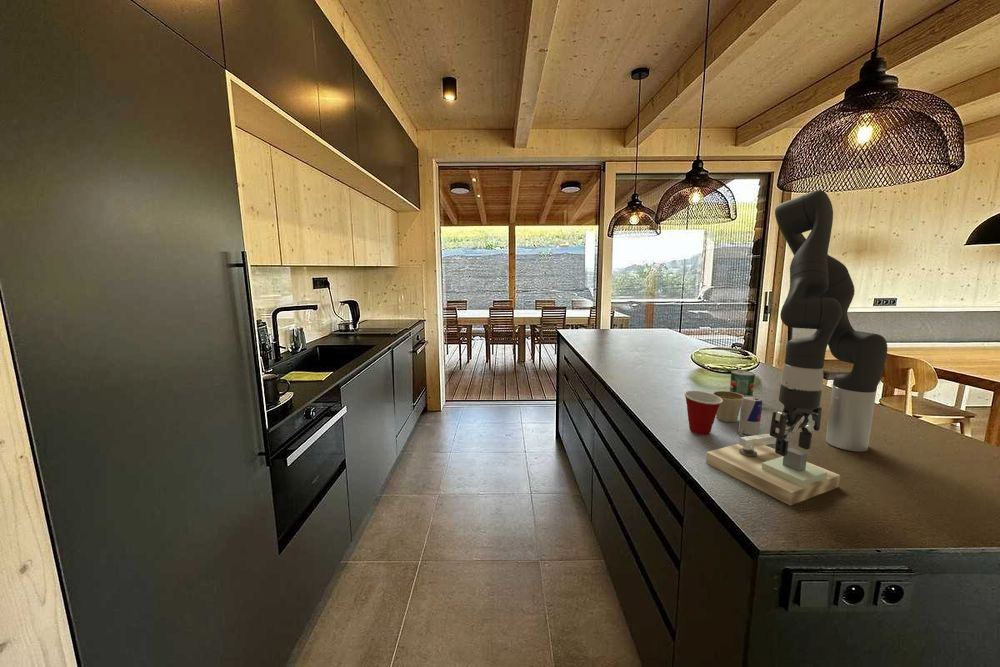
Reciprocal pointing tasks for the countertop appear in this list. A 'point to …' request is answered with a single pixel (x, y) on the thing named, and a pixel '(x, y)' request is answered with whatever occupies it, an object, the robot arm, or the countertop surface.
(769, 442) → the grey long bar
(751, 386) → the canned tomato
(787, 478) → the snap lid
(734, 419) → the flower pot
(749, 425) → the energy drink
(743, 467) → the latch base
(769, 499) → the countertop surface
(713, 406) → the plastic cup
